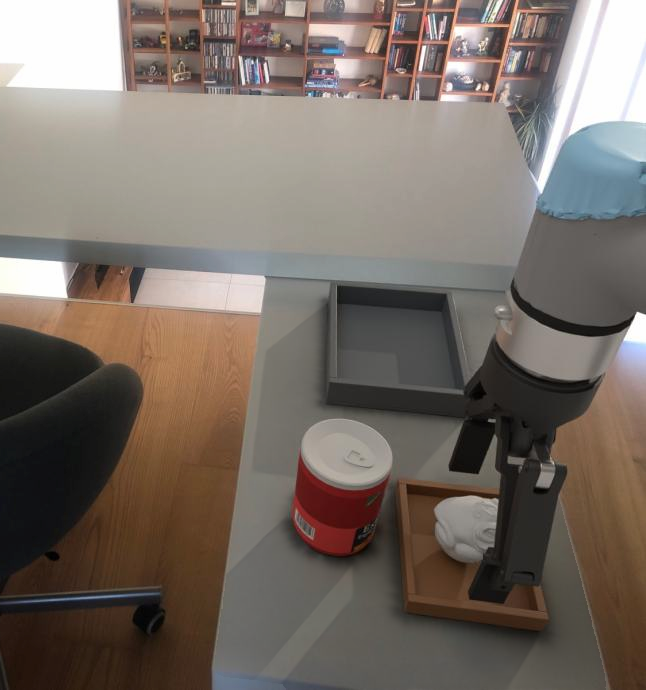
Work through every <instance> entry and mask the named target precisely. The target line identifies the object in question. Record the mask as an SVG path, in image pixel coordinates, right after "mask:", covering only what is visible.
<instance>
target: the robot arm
mask: <svg viewBox="0 0 646 690" xmlns="http://www.w3.org/2000/svg"><path fill="white" fill-rule="evenodd" d="M535 204H536V205H535V209H534V213H533V216H532V220H531V223H530V225H529V228H528V231H527V234H526V238H525V241H524V245H523V247H522V251H521V254H520V256H519V259H518V262H517V266H516V268H515V272H514V275H513V277H512V280H511V283H510V286H509V289H508V292H507V296H506V299H505V301H504V304H502V305H497V306H496V307H495V308H494V313H493V316H494V317H495V318H496V319H497V320H498V321H497V324H496V327H495V333H494V334H493V335H492V337H491V338H490V341H489V344H488V347H487V350H486V353H485V356H484V358H483V362H482V365H481V366H480V367H479V368H478V369H477V370H476V372H475V373H474V374H473V376H472V377H470V381H469V382H468V383H467V384H466V386H465V388H464V390H463V393H464V397H465V398H470V403H467V404H466V407H465V410H464V411H465V415H466V418H464V419H463V422H462V425H461V428H460V430H459V433H458V436H457V439H456V442H455V445H454V448H453V451H452V453H451V456H450V459H449V462H448V471H449V472H452V473H461V474H472V475H479V474H480V473H481V472H480V471H481V469H482V467H483V464H484V461H485V459H486V456H487V454H488V451H489V449H490V446H491V444H492V441H493V439H494V436H495V437H496V441H497V442H496V448H495V449H496V450H495V461H494V468H495V470H496V471H497V472H498V473H499V474H500V479H499V480H500V482H499V489H500V490H499V501H498V511H497V521H496V531H495V541H494V547H488V548H487V551H486V553H483V559H482V561H481V564H480V566H479V568H478V570H477V572H476V575H475V577H474V579H473V581H472V583H471V585H470V588H469V590H468V596H469V600H476V601H484V602H491V603H498V604H504V602H505V601H506V599H507V597H508V595H509V593H510V591H512V589H513V587H514V585H515V584H520V585H527V586H536V587H539V585H541V581H542V578H543V577H542V576H543V572H544V567H545V563H546V557H547V554H548V553H547V552H548V548H549V543H550V538H551V533H552V529H553V524H554V520H555V514H556V509H557V505H558V499H559V495H560V493H561V490H562V488H563V485H564V483H565V481H566V479H567V476H568V466H567V464H566V462H565V461H564V462H563V461H554V460H553V459H552V457H551V453H552V452H551V451H552V447H553V445H554V444H555V443H556V439H557V429H558V428H560V427H562V426H564V425H566V424H568V423H570V422H572V421H574V420H577V419H578V418H580V417H581V416H583V415H584V414H585V413H587V411H588V409H590V406H591V404H592V402H593V400H594V399H595V396H596V395H597V393H598V390H599V388H600V386H601V385H602V383H603V381H604V378H605V376H606V372H607V371H609V370H610V368H611V366H612V364H613V362H614V360H615V358H616V355H617V354H618V352H619V349H620V348H621V345H622V343H623V342H624V340H625V338H626V336H627V334H628V332H629V330H630V328H631V326H632V325H633V322H634V320H635V318H636V315H637V313H640V314H643V315H645V316H646V122H639V121H628V120H613V121H612V120H609V121H602V122H596V123H592V124H588V125H586V126H584V127H581V128H580V129H578V130H576V131H575V132H574V133H572V134H570V135H568V137H567V138H566V139H565V140H564V142H563V143H562V145H561V146H560V149H559V151H558V154H557V156H556V159H555V161H554V164H553V166H552V168H551V170H550V173H549V176H548V178H547V179H546V182H545V185H544V186H543V190H542V192H541V193H540V194H538V196H537V198H536V201H535ZM489 420H495V421H489ZM509 457H511V458H518V459H524V461H523V463H522V464H517V463H509V462H508V461H509Z"/></svg>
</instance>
